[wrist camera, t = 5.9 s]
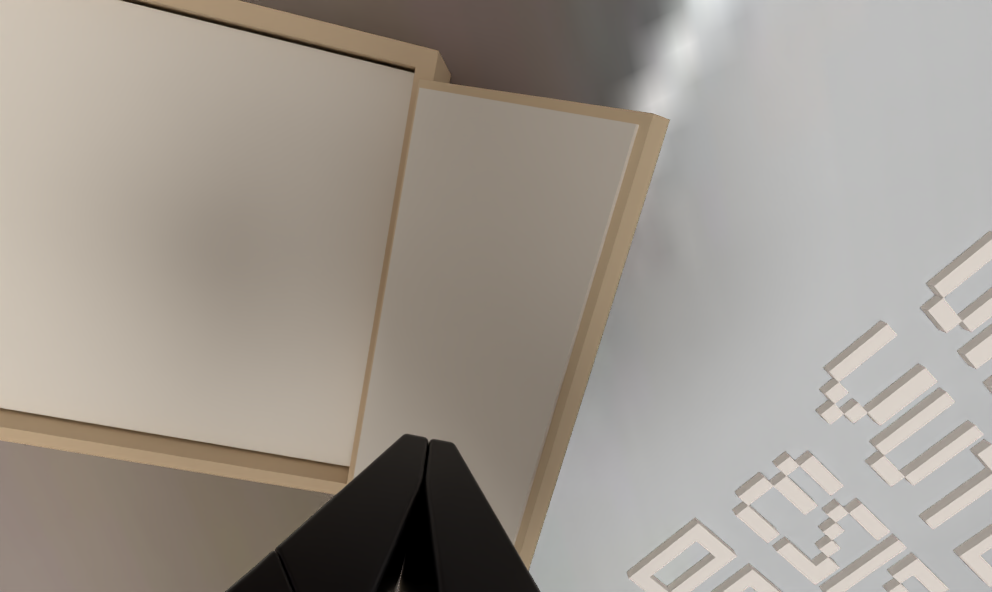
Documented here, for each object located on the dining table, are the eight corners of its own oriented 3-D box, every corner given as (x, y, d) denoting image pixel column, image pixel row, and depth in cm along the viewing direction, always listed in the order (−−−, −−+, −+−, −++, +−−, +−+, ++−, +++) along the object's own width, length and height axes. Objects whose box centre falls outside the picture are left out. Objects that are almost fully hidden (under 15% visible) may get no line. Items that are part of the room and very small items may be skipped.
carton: (389, 406, 23) (359, 498, 17) (-45, 327, 21) (-241, 400, 15) (451, 72, 19) (439, 46, 13) (-84, -61, 17) (-374, -161, 11)
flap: (347, 490, 16) (364, 485, 17) (480, 677, 12) (499, 664, 12) (416, 78, 12) (435, 83, 13) (650, 112, 8) (669, 120, 8)
